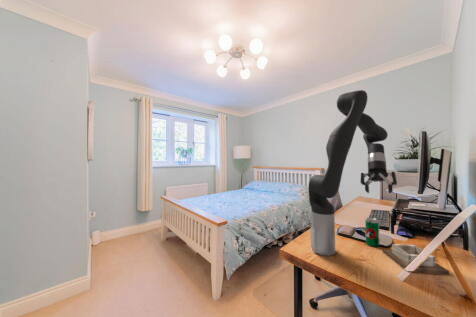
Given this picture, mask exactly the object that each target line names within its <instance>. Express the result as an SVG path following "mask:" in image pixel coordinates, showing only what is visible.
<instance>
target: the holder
mask: <svg viewBox="0 0 476 317" xmlns="http://www.w3.org/2000/svg"><path fill="white" fill-rule="evenodd" d="M423 250H424V249H423V248H421V247H420V246H418V245H416V244H399V243H397V244H396V243H395V244H394V243H391V249H382V253H383V254H384V255H385V256H386V257H388V258H389V259H391V260H392V261H393V262H394V263H396V265H398V266H399V267H400V268H402V269H403V270H404V268H406V267H407V266H408V265H409V264H410V263H411V262H412V261H413V260H414V259H415V258H416V257H417V256H418V255H419V254H420V253H421V252H422V251H423ZM436 258H437V257H436V256H435V255H433V254H431V253H430V255H429V256H428V258H427V259H426V260H425V261H424V262H423V263H422V264H421V265H420V266H419V267H418V268H417V269H416V270H415V271H413V272H412V273H421V274H422V273H425V274H435V275H436V274H439V275H450V270H448V269H446V268H445V267H444V266H441V264H439V263H437V261H436Z"/></svg>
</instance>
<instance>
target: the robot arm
mask: <svg viewBox="0 0 476 317" xmlns="http://www.w3.org/2000/svg"><path fill="white" fill-rule="evenodd" d="M367 103H368V93H367V92H366V90H363V89H362V90H353V91H350V92H345V93H342V94H340V95H339V96H338V98H337V100H336V107H337V110H338V111H339V112H340V113H341V114H343V116H345V119H344V120H343V121H341V122H340V124H338V125H337V126H336V127H335V128H334V129H333V130H332V131H331V133H330V135H329V137H328V140H327V143H326V146H325V150H326V156H327V161H328V163H327V164H328V165H327V168H326V172H325V174H324V175H321V174H320V175H319V174H316V175H315V174H314V175H313V176H311V177H310V179H309V181H308V200H309V201H308V202H309V206H310V207H311V226H310V247H311V249H312V251H313V253H314V254H319V255H322V256H326V257H328V256H331V257H332V256H334V255H335V254H336V228H335V227H336V221H335V220H336V218H335V217H336V214H335V206H334V205H333V204H332V203H330V200H328V199H332V198H334V197H335V196H336V195H337V194H338V191H339V189H340V185H341V182H342V180H341V179H342V176H343V171H344V167H345V163H346V160H347V157H348V155H349V152H350V149H351V146H352V143H353V139H354V136H355V134H356V130H357V127H358V128H359V130H360V131H361V132H362V133H363V136H362V138H363V140H364V143H365V145H366V148H367V173H364V172H361V173H360V184H361V185H362V186H364V190H365V192H366V193H367V194H370V185H371V184H372V183H373V182H375V183H377V182H384V183H385V184H387V189H388V194H392V193H393V189H394V188H393V186H396V185H397V184H398V182H397V177H396V172H395V171H391V172H388V171H387V159H386V154H385V146H384V145H383V144H382V143H378V142H382V141H385V140H386V139H387V138H388V134H389V133H388V132H387V130H386V128H384V127H382V126H380V125H379V124H377V123H376V121H375V119H374V118H373V117H371V116H370V115H369V114H366V113H364V111H365V109H366V106H367ZM388 176H389V177H390V178H392V181H391V180H389V179H388V178H387V177H388ZM367 177H368V178H367ZM365 178H367V180H366V181H365Z"/></svg>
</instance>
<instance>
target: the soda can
mask: <svg viewBox="0 0 476 317" xmlns="http://www.w3.org/2000/svg"><path fill="white" fill-rule="evenodd" d="M364 222H365V243H366V244H367V246H369V247H374V248H378V247H379V246H380V222H379V220H378V219H377V218H374V217H366V219H365V221H364Z"/></svg>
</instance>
